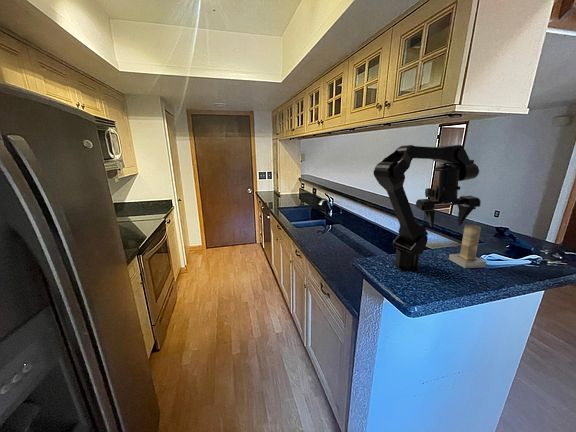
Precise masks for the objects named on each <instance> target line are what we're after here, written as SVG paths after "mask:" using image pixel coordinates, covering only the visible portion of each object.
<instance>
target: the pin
mask: <svg viewBox="0 0 576 432" xmlns="http://www.w3.org/2000/svg"><path fill="white" fill-rule="evenodd" d="M481 229H482V227H481V226H480V225H476V224H464V228H463V235H462V240H461V241H462V242H461V247H460V252H459V254H460V258H462V259H464V260H466V261H474V260H475V258H476V257H477V252H478V246H479V241H480V240H479V239H480V236H481V231H482V230H481Z"/></svg>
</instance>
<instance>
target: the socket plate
mask: <svg viewBox="0 0 576 432" xmlns="http://www.w3.org/2000/svg"><path fill="white" fill-rule="evenodd" d="M448 260H449V261H451V262H453V263H455V264H456V265H459V266H460V267H462V268H464V269H477V268H479V269H480V268H486V265H487V261H485V260H484V259H481V258H479V257H477V256H476V258H475V260H474V261H466V260H464V259H462V258H460V253H449V255H448Z"/></svg>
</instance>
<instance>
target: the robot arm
mask: <svg viewBox="0 0 576 432" xmlns="http://www.w3.org/2000/svg"><path fill="white" fill-rule="evenodd" d="M413 159H418V160H420V159H422V160H427V159H428V160H432V161H433V162H437V163H439V164H438V166H436V167H435V168H434V171H435V172H438V183H437V184H438V185H437V184H436V187H435V189H433V188H432V187H431V188H429V187H428V188H425V190H424V191H425V192H424V193H425V194H424V195H425V197H426V198H421V199H417V200H416V201H415V207H416V208H418V209H419V210H420V211H422V212H424V214H425V216H426V217H427V218H426V219H427V221H428V223H429V226H430V228H433V227H434V223H435V214H436V211H435V210H434V208H435V207H442V206H443V207H444V206H445V207H446V206H457V209H458V213H457V226H461V225H462V224H463V223H464V221H465V220H466V219H467V217H468V216H469V214H471V213H472V211H474V210H476V209H477V207H481V199H480V198H479V197H478V196H477V197H476V196H473V195H462V196H459V197H458V193H459V191H460V190H461V186H460V185H459V182H462V181H468V180H473V179H476V178H477V177H478V175H479V173H480V169H479V167H478V165H477V164H476V163H475V159H470V156H469V155H468V154H467V152H466V149H465V147H464V145H462V144H453V145H452V144H451V145H440V146H436V147H435V146H422V145H421V146H419V145H413V144H408V145H407V144H406V145H401V146H398V147H397V148H396V149H395V150H394V152H392V153H391V154H389V155H388V156H385V157H384V158H383V159H382V161H380V162H378V163H377V164H376V166H374V169H373V176H374V178H375V180H376V181H377V183H378V184H379V186H380V187H382V188H383V189H384V190H385V191H386V193H387V196H388V198H389V200H390V203H391V206H392V208H393V211H394V213H395V215H396V218H397V221H398V223H399V228H398V232H397V233H398V235H397V236H396V237H395V239H394V240H393V241H392V247H393V248H395V249H396V251H395V260H394V261H392V264H393V265H394V266H395V267H396V268H398V269H399V271H419V270H420V268H419V267H418V266H419V260H420V255H422V254H423V253H424V250H425V248H426V246H427V243H428V235H429V233H428V231H427V228H426V226H425V224H423V223H420V222H417V221H416V218H415V216H414V213H413V210H412V208H411V205H410V202H409V199H408V197H407V194H406V191H405V189H404V183H405V179H406V175H405V173H406V172H407V171H408V170H409V169H410V167H411V163H412V161H413ZM429 198H430V199H429Z"/></svg>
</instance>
